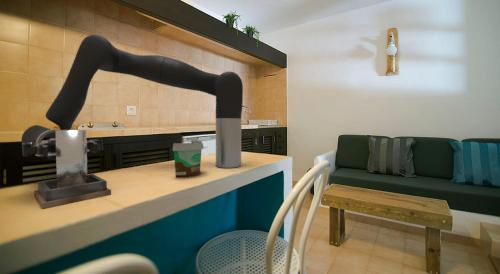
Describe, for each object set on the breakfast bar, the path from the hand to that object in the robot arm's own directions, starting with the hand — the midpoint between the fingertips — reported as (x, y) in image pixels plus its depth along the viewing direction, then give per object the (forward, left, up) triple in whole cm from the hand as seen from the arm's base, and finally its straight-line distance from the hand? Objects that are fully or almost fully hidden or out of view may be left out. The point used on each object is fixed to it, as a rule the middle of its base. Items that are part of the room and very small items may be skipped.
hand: (72, 149), depth 48 cm
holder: (0, -1, -10) cm, 10 cm away
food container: (-23, +18, -10) cm, 31 cm away
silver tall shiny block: (-1, -1, -9) cm, 9 cm away
